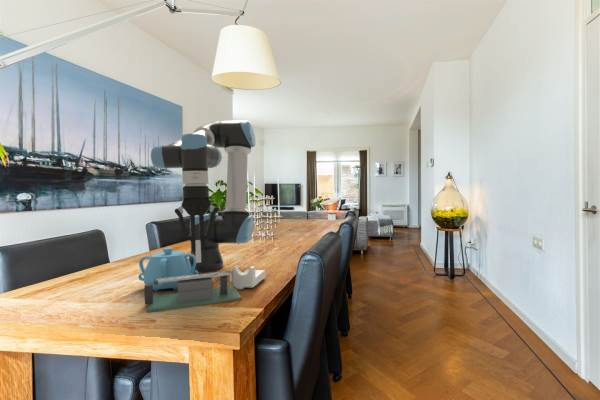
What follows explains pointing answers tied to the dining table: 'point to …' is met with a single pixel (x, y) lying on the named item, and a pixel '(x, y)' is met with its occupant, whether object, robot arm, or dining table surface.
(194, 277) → the strap
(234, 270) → the bracket
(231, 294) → the heatsink board
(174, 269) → the decorative pot
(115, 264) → the dining table surface
